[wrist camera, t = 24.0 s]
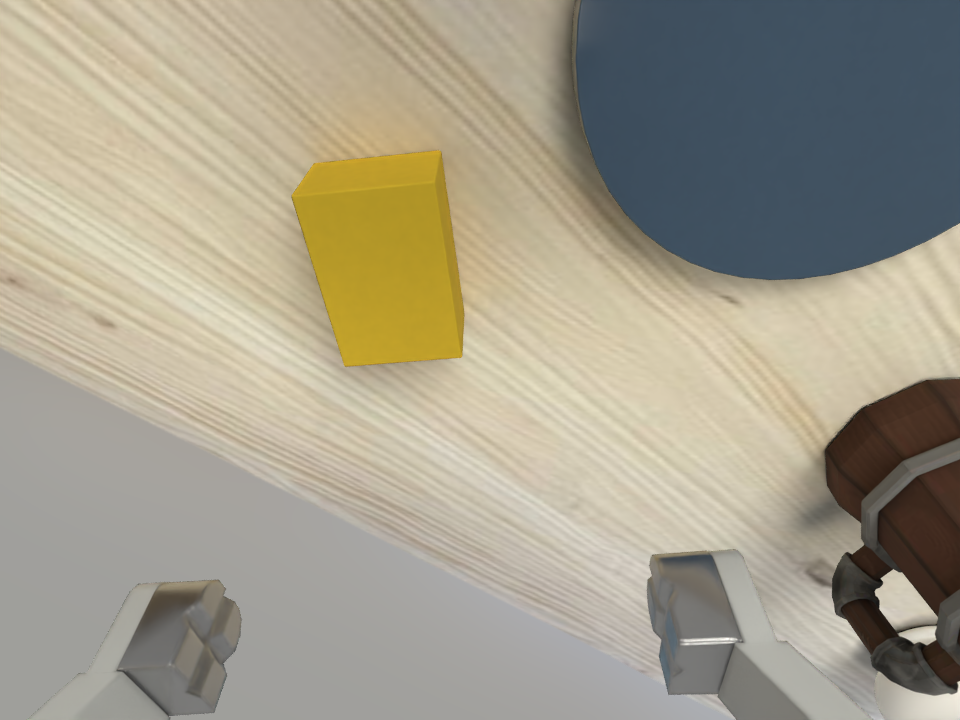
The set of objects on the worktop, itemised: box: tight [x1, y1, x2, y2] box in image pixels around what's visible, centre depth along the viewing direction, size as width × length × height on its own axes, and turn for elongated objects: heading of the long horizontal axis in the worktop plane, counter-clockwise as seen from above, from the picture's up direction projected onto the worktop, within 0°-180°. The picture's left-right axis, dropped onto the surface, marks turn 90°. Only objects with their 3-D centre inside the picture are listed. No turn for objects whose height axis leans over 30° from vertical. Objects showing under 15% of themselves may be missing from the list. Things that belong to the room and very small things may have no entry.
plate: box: [571, 0, 960, 280], centre depth 23 cm, size 22×22×2 cm
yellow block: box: [292, 150, 464, 367], centre depth 28 cm, size 9×6×4 cm, turn 6°
